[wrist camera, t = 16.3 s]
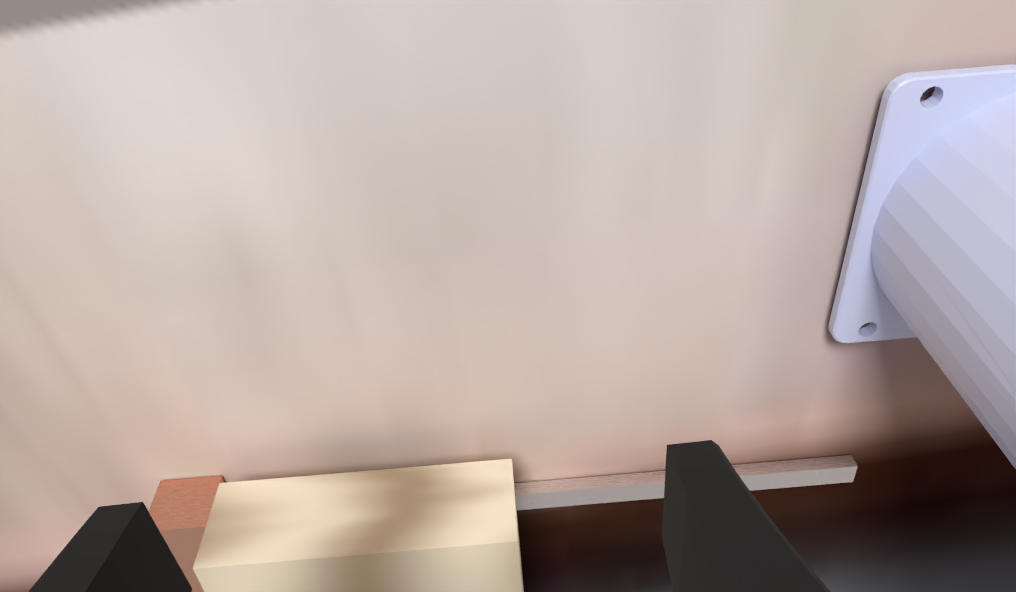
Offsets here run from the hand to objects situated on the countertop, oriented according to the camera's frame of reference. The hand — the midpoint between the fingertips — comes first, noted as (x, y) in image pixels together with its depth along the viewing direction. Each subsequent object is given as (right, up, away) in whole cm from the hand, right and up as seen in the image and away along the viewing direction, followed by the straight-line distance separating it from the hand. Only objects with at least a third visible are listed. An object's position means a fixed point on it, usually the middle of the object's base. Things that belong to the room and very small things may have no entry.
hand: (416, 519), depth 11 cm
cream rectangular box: (-3, -9, +19) cm, 21 cm away
